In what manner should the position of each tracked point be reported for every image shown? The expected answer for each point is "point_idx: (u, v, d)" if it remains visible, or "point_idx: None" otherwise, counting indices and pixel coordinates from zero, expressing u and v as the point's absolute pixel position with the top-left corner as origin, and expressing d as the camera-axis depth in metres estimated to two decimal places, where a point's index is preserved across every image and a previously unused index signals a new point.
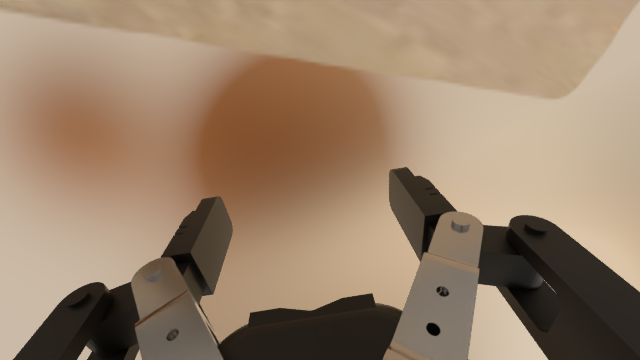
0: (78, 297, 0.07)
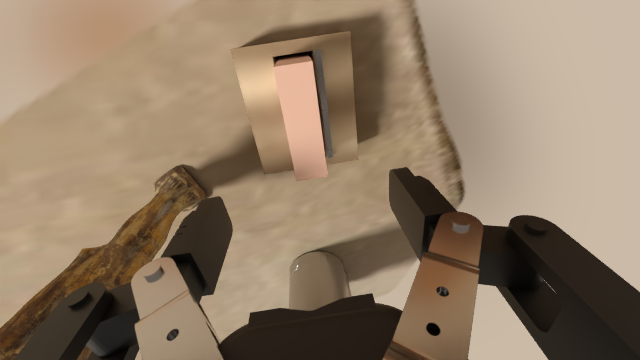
0: (77, 297, 0.07)
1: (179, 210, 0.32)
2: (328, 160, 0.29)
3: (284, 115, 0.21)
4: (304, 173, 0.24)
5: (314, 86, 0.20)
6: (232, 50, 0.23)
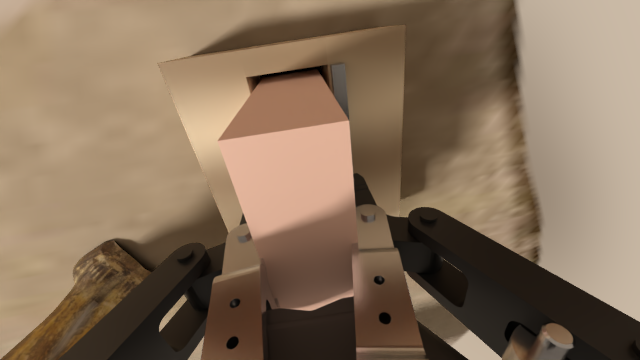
0: (184, 254, 0.08)
1: None
2: None
3: (263, 256, 0.08)
4: None
5: (350, 188, 0.07)
6: (162, 65, 0.11)
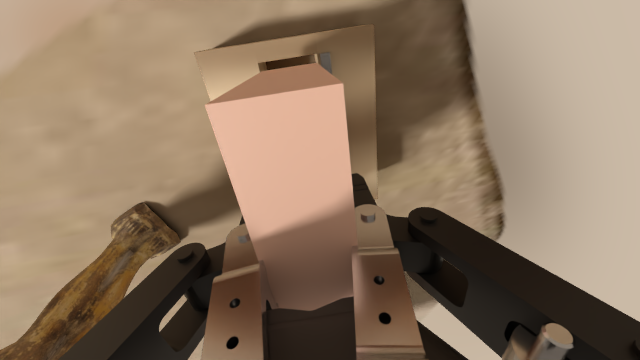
0: (184, 254, 0.08)
1: (142, 262, 0.24)
2: None
3: (254, 237, 0.07)
4: None
5: (345, 161, 0.06)
6: (197, 54, 0.15)
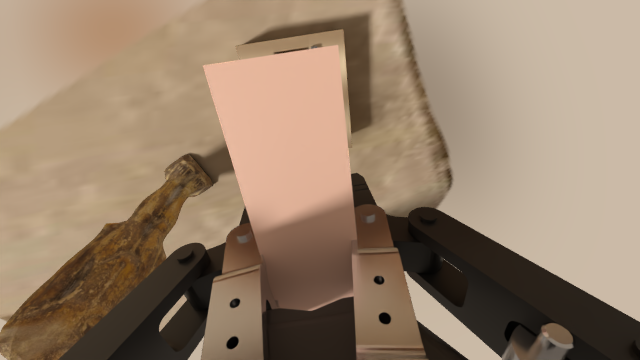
0: (184, 254, 0.08)
1: (188, 195, 0.34)
2: None
3: (251, 209, 0.07)
4: None
5: (341, 127, 0.06)
6: (237, 47, 0.26)
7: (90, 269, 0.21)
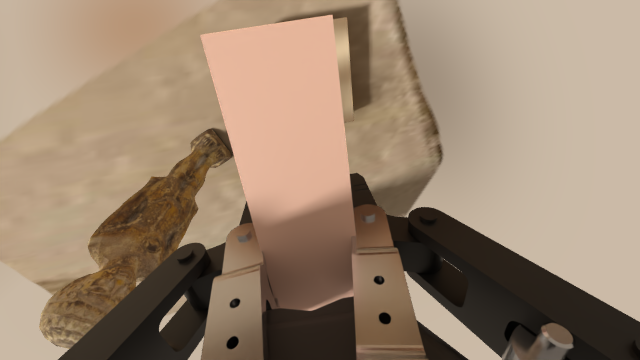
0: (184, 254, 0.08)
1: (211, 164, 0.40)
2: None
3: (246, 185, 0.07)
4: None
5: (337, 99, 0.06)
6: None
7: (145, 206, 0.26)
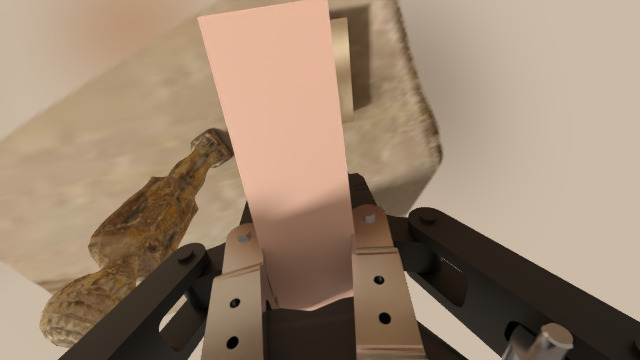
0: (184, 254, 0.08)
1: (211, 164, 0.40)
2: None
3: (243, 169, 0.07)
4: None
5: (332, 82, 0.06)
6: None
7: (145, 206, 0.26)
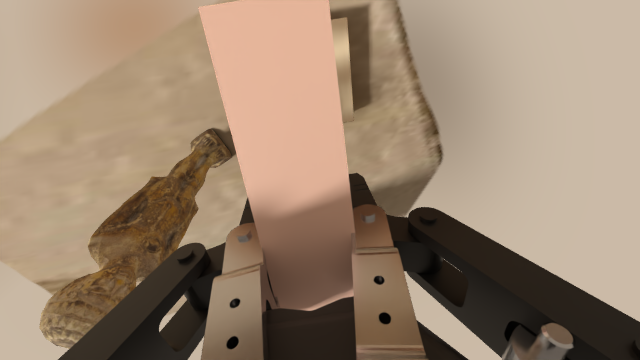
0: (184, 254, 0.08)
1: (211, 164, 0.40)
2: None
3: (242, 160, 0.07)
4: None
5: (332, 73, 0.06)
6: None
7: (145, 206, 0.26)
